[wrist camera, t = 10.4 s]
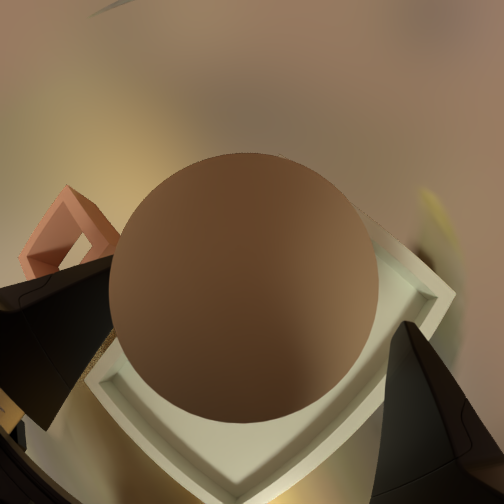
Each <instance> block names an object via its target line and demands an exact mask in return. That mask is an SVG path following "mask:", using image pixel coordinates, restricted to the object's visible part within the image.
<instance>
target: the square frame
mask: <svg viewBox="0 0 504 504" xmlns="http://www.w3.org/2000/svg"><path fill="white" fill-rule="evenodd" d="M82 232H83V233H84V234H85V236H86V237H87V239H88V240H89V242H90V243H91V244H92V247H91V249H90V250H89V252H88V253H87V254H86V256H85V257H84V258H83V260H82V261H81V263H80V264H83V263H86V262H89V261H93V260H96V259H99V258H102V257H106V256H109V255H113V254H114V253H115V249H116V246H117V243H118V241H119V238H120V234H119V233H118V232H117V231H116V230H115V228H114V227H113V226H112V225H111V223H110V222H109V221H108V220H107V219H106V217H105V216H104V215H103V214H102V212H101V211H100V210H99V208H98V207H97V206H96V205H95V204H94V203H93V202H91V201H90V200H88V199H87V198H86V197H84V196H83V195H81V194H80V193H78V192H77V191H75V190H74V189H73V188H71V187H70V186H68V185H66V186H65V187H64V189H63V190H62V191H61V193H60V194H59V195H58V197H57V198H56V199H55V201H54V202H53V203H52V205H51V207H50V208H49V209H48V211H47V212H46V213H45V215H44V216H43V218H42V220H41V221H40V222H39V224H38V226H37V227H36V229H35V230H34V232H33V233H32V235H31V237H30V238H29V240H28V242H27V243H26V245H25V247H24V248H23V250H22V252H21V254H20V256H19V257H18V259H19V261H20V263H21V266H22V269H23V272H24V274H25V276H26V279H27V281H29V280H32V279H36V278H39V277H42V276H45V275H48V274H51V273H53V274H54V272H58V271H60V270H59V268H58V266H59V265H60V264H61V262H62V261H63V259H64V258H65V256H66V255H67V253H68V252H69V250H70V249H71V247H72V246H73V245H74V243H75V242H76V241H77V239H78V238H79V236H80V235H81V234H82ZM80 264H79V265H80Z"/></svg>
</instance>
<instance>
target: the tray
mask: <svg viewBox="0 0 504 504" xmlns="http://www.w3.org/2000/svg"><path fill="white" fill-rule="evenodd" d="M277 157H281V158H285V157H284V156H282V155H281V154H279V155H278V156H277ZM285 159H287V158H285ZM288 160H289V159H288ZM351 205H352V206H353V207H354V208H355V210H356V211H357V213H358V215H359V216H360V218H361V220H362V222H363V223H364V225H365V227H366V229H367V232H368V234H369V237H370V239H371V242H372V244H373V248H374V252H375V256H376V260H377V267H378V277H379V294H378V304H377V310H376V315H375V320H374V323H373V326H372V329H371V332H370V335H369V338H368V340H367V342H366V344H365V346H364V348H363V350H362V352H361V354H360V356H359V358H358V359H357V361H356V362H355V363H354V365H353V366H352V368H351V369H350V370H349V372H348V373H347V374H346V375H345V376H344V377H343V379H342V380H341V381H340V382H339V383H338V384H337V385H336V386H335V387H334V388H333V389H331V390H330V391H329V392H328V393H326V394H325V395H324V396H323V397H321V398H320V399H319V400H317V401H316V402H314V403H312V404H310V405H309V406H307V407H305V408H304V409H302V410H300V411H297V412H295V413H292V414H290V415H287V416H285V417H282V418H278V419H274V420H269V421H265V422H258V423H246V424H240V423H224V422H218V421H213V420H208V419H205V418H202V417H199V416H196V415H193V414H190V413H188V412H186V411H184V410H182V409H180V408H178V407H176V406H174V405H172V404H171V403H169V402H168V401H167V400H165V399H164V398H162V397H161V396H159V395H158V394H157V393H156V392H155V391H154V390H153V389H151V388H150V387H149V386H148V385H147V384H146V383H145V382H144V381H143V379H142V378H141V377H140V376H139V375H138V373H137V372H136V371H135V370H134V368H133V367H132V365H131V364H130V362H129V361H128V359H127V357H126V356H125V354H124V352H123V350H122V347H121V345H120V343H119V341H118V338H117V337H116V338H115V340H114V341H113V342H112V343H111V345H110V346H109V347H108V349H107V350H106V351H105V352H104V354H103V355H102V356H101V358H100V359H99V360H98V362H97V363H96V364H95V366H94V367H93V368H92V370H91V371H90V372H89V374H88V375H87V376H86V378H85V379H84V381H85V383H86V384H87V386H88V387H89V388H90V390H91V391H92V392H93V394H94V395H95V396H96V398H97V399H98V400H99V402H100V403H101V404H102V405H103V407H104V408H105V409H106V410H107V411H108V413H109V414H110V415H111V416H112V417H113V419H114V420H115V421H116V422H117V423H118V424H119V426H120V427H121V428H122V429H123V430H124V431H125V432H126V433H127V434H128V436H129V437H130V438H131V439H132V440H133V441H134V442H135V443H136V444H137V445H138V446H139V447H140V448H141V449H142V450H143V451H144V452H145V453H146V454H147V455H148V456H149V457H150V458H151V459H152V460H153V461H154V462H155V463H156V464H158V465H159V466H160V467H161V468H162V469H163V470H164V471H165V472H166V473H168V474H169V475H170V476H171V477H172V478H173V479H175V480H176V481H177V482H178V483H179V484H181V485H182V486H183V487H184V488H186V489H187V490H188V491H189V492H191V493H192V494H193V495H195V496H196V497H197V498H199V499H200V500H201V501H203V502H204V503H205V504H267V503H269V502H270V501H272V500H273V499H275V498H276V497H278V496H279V495H280V494H282V493H283V492H285V491H286V490H288V489H289V488H290V487H292V486H293V485H294V484H296V483H297V482H298V481H300V480H301V479H302V478H304V477H305V476H306V475H307V474H309V473H310V472H311V471H312V470H314V469H315V468H316V467H317V466H318V465H320V464H321V463H322V462H323V461H324V460H325V459H327V458H328V457H329V456H330V455H331V454H332V453H333V452H334V451H335V450H337V449H338V448H339V447H340V446H341V445H342V444H343V443H344V442H345V441H346V440H347V439H348V438H349V437H350V436H351V435H352V434H353V433H354V432H355V431H356V430H357V429H358V428H359V427H360V426H361V425H362V424H363V423H364V422H365V421H366V420H367V419H368V418H369V417H370V416H371V414H372V413H373V412H374V411H375V410H376V409H377V408H378V407H379V405H380V404H381V403H382V402H383V401H384V395H385V381H386V374H387V366H388V358H389V350H390V342H391V339H392V337H393V335H394V333H395V332H396V330H397V328H398V327H399V325H400V323H401V322H402V321H404V320H406V321H411V322H414V323H415V324H416V325H417V327H418V328H419V329H420V331H421V332H422V333H423V335H424V336H425V337H426V339H427V340H428V341H429V339H430V338H431V336H432V335H433V333H434V331H435V330H436V328H437V327H438V325H439V323H440V322H441V320H442V318H443V316H444V315H445V313H446V311H447V310H448V308H449V306H450V304H451V302H452V300H453V299H454V297H455V295H456V293H455V292H454V291H453V290H452V289H451V288H450V287H449V286H448V285H447V284H446V283H445V282H444V281H443V280H442V279H441V278H440V277H439V276H438V275H436V274H435V273H434V272H433V271H432V270H431V269H430V268H429V267H428V266H427V265H426V264H425V263H424V262H422V261H421V260H420V259H419V258H418V257H417V256H416V255H415V254H413V253H412V252H411V251H410V250H409V249H408V248H407V247H405V246H404V245H403V244H402V243H401V242H400V241H398V240H397V239H396V238H395V237H394V236H392V235H391V234H390V233H389V232H388V231H386V230H385V229H384V228H383V227H381V226H380V225H379V224H378V223H376V222H375V221H374V220H373V219H371V218H370V217H369V216H368V215H366V214H365V213H364V212H362V211H361V210H360V209H358V208H357V207H356V206H354V205H353V204H352V203H351Z"/></svg>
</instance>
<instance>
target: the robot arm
mask: <svg viewBox="0 0 504 504" xmlns="http://www.w3.org/2000/svg"><path fill="white" fill-rule="evenodd" d="M113 256H114V254H113V255H109V256H106V257H102V258H99V259H96V260H93V261H89V262H86V263H83V264H80V265H76V266H73V267H70V268H67V269H64V270H61V271H58V272H54V274H53V273H51V274H48V275H45V276H42V277H39V278H36V279H32V280H29V281H25V282H22V283H18V284H14V285H10V286H7V287H3V288H0V504H82V503H81V502H80V501H78V500H77V499H76V498H75V497H73V496H72V495H71V494H69V493H68V492H67V491H66V490H64V489H63V488H62V487H61V486H60V485H58V484H57V483H56V482H55V481H54V480H53V479H52V478H50V477H49V476H48V475H47V474H46V473H45V472H44V471H43V470H42V469H41V468H40V467H39V466H38V465H37V464H35V463H34V462H33V461H32V460H31V459H30V457H29V456H28V455H27V454H26V453H25V451H26V449H27V447H26V437H25V424H24V422H23V421H22V420H21V419H22V418H23V416H24V415H25V414H26V415H27V416H29V417H30V418H31V419H32V420H33V421H34V422H35V423H36V424H37V425H39V426H40V427H41V428H42V429H43V430H44V431H47V430H48V428H49V427H50V425H51V423H52V421H53V420H54V418H55V416H56V415H57V413H58V411H59V410H60V408H61V406H62V405H63V403H64V401H65V400H66V398H67V397H68V395H69V393H70V392H71V390H72V388H73V387H74V385H75V384H76V382H77V381H78V379H79V377H80V376H81V374H82V373H83V371H84V370H85V368H86V367H87V365H88V364H89V362H90V361H91V359H92V358H93V356H94V355H95V353H96V352H97V350H98V349H99V348H100V346H101V345H102V343H103V342H104V340H105V339H106V338H107V336H108V335H109V333H110V332H111V330H112V329H113V328H114V326H113V322H112V317H111V311H110V303H109V279H110V270H111V265H112V260H113ZM369 504H504V454H503V452H502V451H501V450H500V448H499V446H498V445H497V444H496V442H495V440H494V439H493V437H492V436H491V434H490V433H489V432H488V430H487V429H486V427H485V426H484V424H483V423H482V421H481V420H480V418H479V417H478V415H477V413H476V412H475V410H474V409H473V407H472V406H471V404H470V402H469V401H468V399H467V398H466V396H465V394H464V393H463V391H462V390H461V388H460V387H459V385H458V383H457V382H456V380H455V379H454V377H453V376H452V374H451V373H450V371H449V370H448V368H447V367H446V365H445V364H444V363H443V361H442V360H441V358H440V357H439V355H438V354H437V353H436V351H435V350H434V348H433V347H432V346H431V344H430V343H429V341H428V340H427V339H426V337H425V336H424V335H423V333H422V332H421V331H420V329H419V328H418V327H417V325H416V324H415V323H414V322H411V321H406V320H404V321H402V322H401V323H400V325H399V327H398V328H397V330H396V332H395V333H394V335H393V337H392V339H391V342H390V350H389V358H388V366H387V374H386V381H385V395H384V410H383V422H382V432H381V441H380V449H379V456H378V462H377V469H376V474H375V480H374V485H373V490H372V495H371V499H370V503H369Z"/></svg>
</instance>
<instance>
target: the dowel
mask: <svg viewBox="0 0 504 504" xmlns="http://www.w3.org/2000/svg"><path fill="white" fill-rule="evenodd" d="M378 294H379V277H378V267H377V260H376V256H375V252H374V248H373V244H372V242H371V239H370V237H369V234H368V232H367V229H366V227H365V225H364V223H363V222H362V220H361V218H360V216H359V215H358V213H357V211H356V210H355V208H354V207H353V206H352V205H351V203H350V202H349V201H348V200H347V198H346V197H345V196H344V195H343V194H342V193H341V192H340V191H339V190H338V189H337V188H336V187H335V186H333V184H331V183H330V182H329V181H327V180H326V179H325V178H323V177H322V176H321V175H319V174H318V173H316V172H314V171H313V170H311V169H309V168H307V167H305V166H303V165H301V164H298V163H296V162H293V161H291V160H288V159H285V158H281V157H277V156H273V155H266V154H258V153H235V154H227V155H221V156H216V157H212V158H208V159H205V160H202V161H200V162H197V163H194V164H192V165H190V166H188V167H186V168H184V169H182V170H180V171H178V172H177V173H175V174H173V175H172V176H170V177H169V178H168V179H166V180H164V181H163V182H162V183H161V184H160V185H158V186H157V187H156V188H155V189H154V190H152V191H151V193H150V194H149V195H148V196H147V197H146V198H145V199H144V200H143V201H142V202H141V203H140V205H139V206H138V207H137V209H136V210H135V212H134V213H133V214H132V216H131V217H130V219H129V221H128V222H127V224H126V226H125V228H124V229H123V232H122V234H121V236H120V238H119V241H118V243H117V246H116V249H115V253H114V256H113V260H112V265H111V270H110V279H109V303H110V311H111V317H112V322H113V326H114V329H115V332H116V335H117V338H118V341H119V343H120V345H121V347H122V350H123V352H124V354H125V356H126V357H127V359H128V361H129V362H130V364H131V365H132V367H133V368H134V370H135V371H136V372H137V373H138V375H139V376H140V377H141V378H142V379H143V381H144V382H145V383H146V384H147V385H148V386H149V387H150V388H151V389H153V390H154V391H155V392H156V393H157V394H158V395H159V396H161V397H162V398H164V399H165V400H167V401H168V402H169V403H171V404H172V405H174V406H176V407H178V408H180V409H182V410H184V411H186V412H188V413H190V414H193V415H196V416H199V417H202V418H205V419H208V420H213V421H218V422H224V423H240V424H246V423H258V422H265V421H269V420H274V419H278V418H282V417H285V416H287V415H290V414H292V413H295V412H297V411H300V410H302V409H304V408H305V407H307V406H309V405H310V404H312V403H314V402H316V401H317V400H319V399H320V398H321V397H323V396H324V395H325V394H326V393H328V392H329V391H330V390H331V389H333V388H334V387H335V386H336V385H337V384H338V383H339V382H340V381H341V380H342V379H343V377H344V376H345V375H346V374H347V373H348V372H349V370H350V369H351V368H352V366H353V365H354V363H355V362H356V361H357V359H358V358H359V356H360V354H361V352H362V350H363V348H364V346H365V344H366V342H367V340H368V338H369V335H370V332H371V329H372V326H373V323H374V320H375V315H376V310H377V304H378Z"/></svg>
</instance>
